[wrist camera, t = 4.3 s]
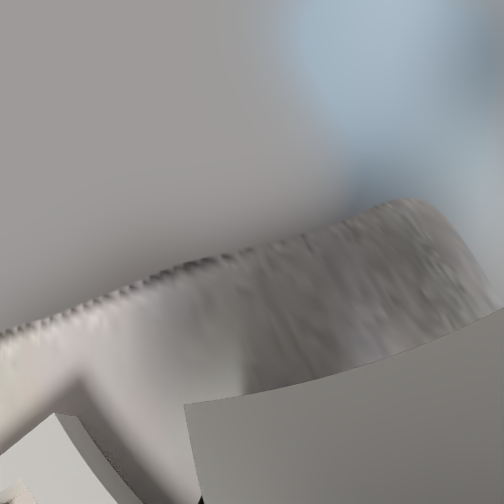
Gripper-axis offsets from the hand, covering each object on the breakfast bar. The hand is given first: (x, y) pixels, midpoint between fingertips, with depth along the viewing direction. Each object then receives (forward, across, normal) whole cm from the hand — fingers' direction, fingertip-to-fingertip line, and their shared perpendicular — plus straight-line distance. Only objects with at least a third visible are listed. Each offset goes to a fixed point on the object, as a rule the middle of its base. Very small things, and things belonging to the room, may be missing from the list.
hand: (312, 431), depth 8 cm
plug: (+4, 0, +6) cm, 7 cm away
